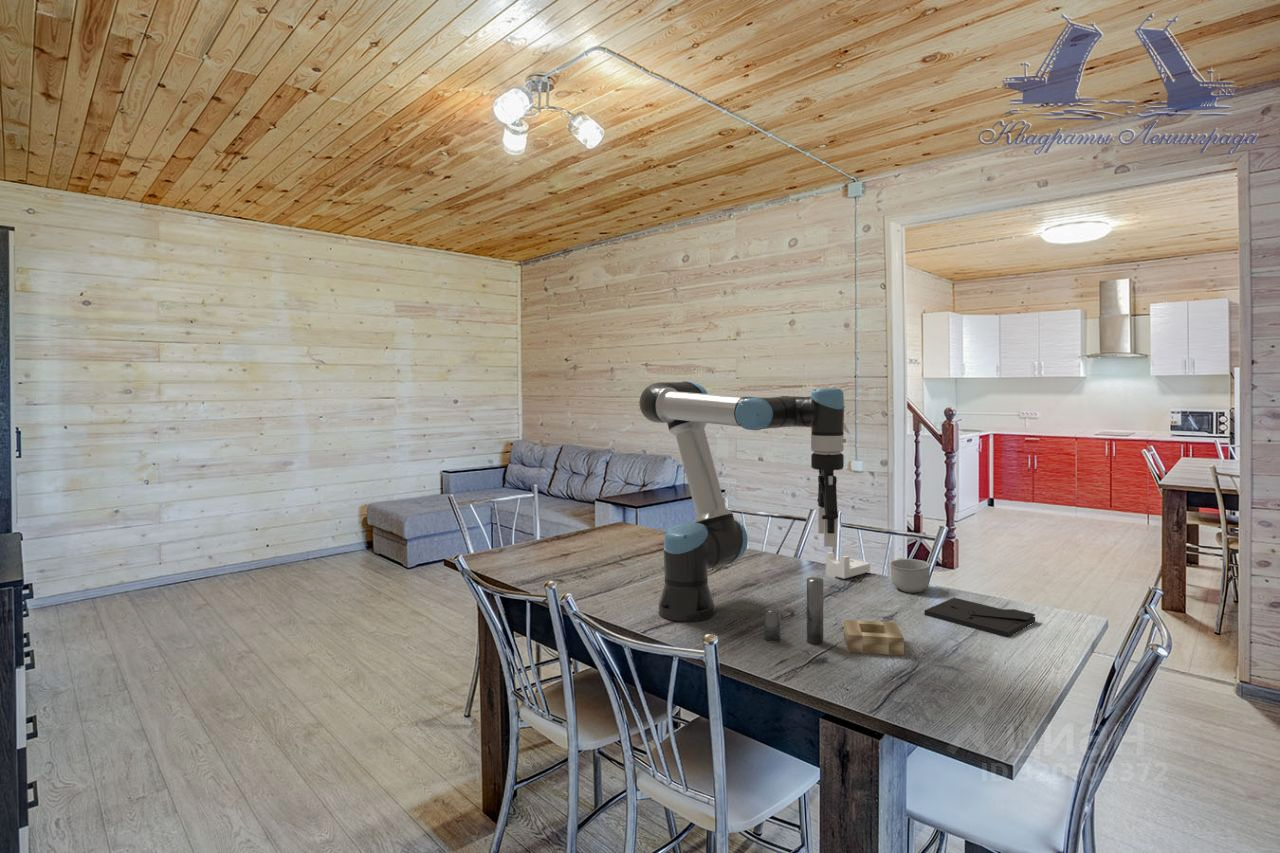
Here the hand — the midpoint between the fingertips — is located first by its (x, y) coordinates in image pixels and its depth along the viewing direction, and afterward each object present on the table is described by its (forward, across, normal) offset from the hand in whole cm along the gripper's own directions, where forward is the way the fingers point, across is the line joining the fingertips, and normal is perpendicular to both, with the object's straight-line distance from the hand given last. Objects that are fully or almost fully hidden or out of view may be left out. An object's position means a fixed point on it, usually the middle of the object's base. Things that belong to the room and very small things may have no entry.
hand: (826, 539), depth 160 cm
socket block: (+23, -6, -10) cm, 26 cm away
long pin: (+23, -6, +3) cm, 24 cm away
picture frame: (+24, +15, -40) cm, 49 cm away
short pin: (+23, -5, +13) cm, 27 cm away
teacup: (+24, +40, -28) cm, 54 cm away
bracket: (+24, +52, -12) cm, 59 cm away
